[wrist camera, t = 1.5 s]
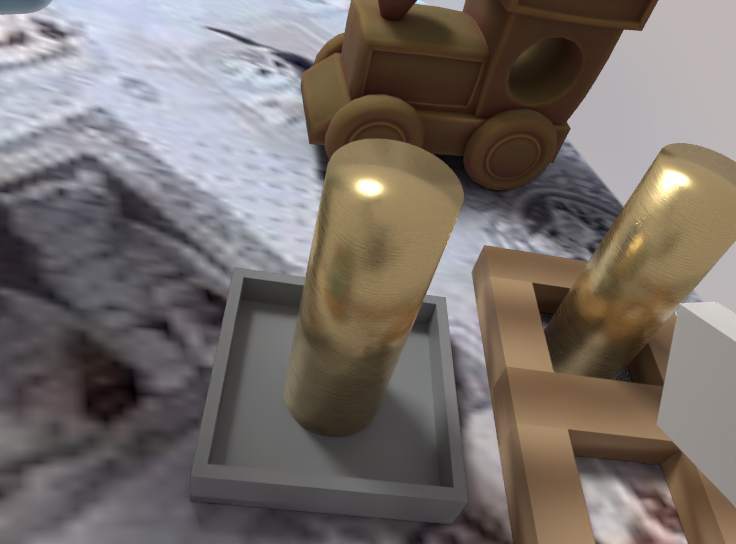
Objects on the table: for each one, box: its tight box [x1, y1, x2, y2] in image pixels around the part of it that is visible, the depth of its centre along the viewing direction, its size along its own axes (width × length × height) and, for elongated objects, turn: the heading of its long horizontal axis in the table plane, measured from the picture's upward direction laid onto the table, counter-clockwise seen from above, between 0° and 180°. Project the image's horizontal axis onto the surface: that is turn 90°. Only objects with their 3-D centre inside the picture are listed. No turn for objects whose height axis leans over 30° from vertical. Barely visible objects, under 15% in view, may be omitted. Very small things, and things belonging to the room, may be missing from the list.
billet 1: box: [284, 139, 464, 437], centre depth 27 cm, size 5×5×14 cm
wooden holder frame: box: [472, 245, 736, 544], centre depth 34 cm, size 22×12×2 cm, turn 0°
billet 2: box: [544, 143, 736, 380], centre depth 33 cm, size 5×5×14 cm
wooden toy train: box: [301, 0, 658, 190], centre depth 45 cm, size 20×11×17 cm, turn 99°
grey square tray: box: [190, 268, 468, 524], centre depth 32 cm, size 12×12×2 cm
